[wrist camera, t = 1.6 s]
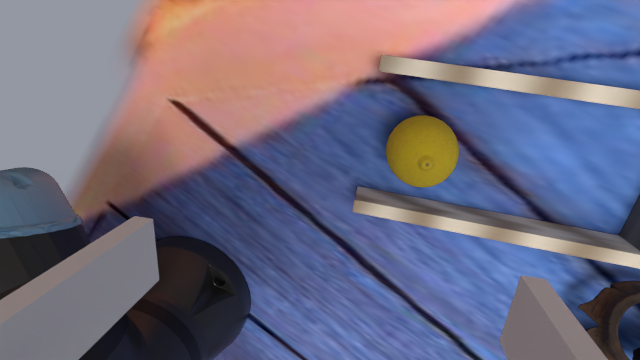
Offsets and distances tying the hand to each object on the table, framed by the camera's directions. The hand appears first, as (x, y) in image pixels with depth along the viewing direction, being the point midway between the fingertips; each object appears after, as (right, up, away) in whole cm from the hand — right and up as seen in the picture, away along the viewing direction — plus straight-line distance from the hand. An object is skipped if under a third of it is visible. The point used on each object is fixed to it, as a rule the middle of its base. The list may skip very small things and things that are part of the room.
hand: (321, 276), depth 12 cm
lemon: (+9, +7, +19) cm, 22 cm away
